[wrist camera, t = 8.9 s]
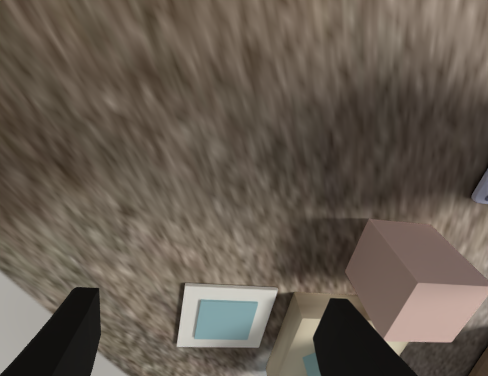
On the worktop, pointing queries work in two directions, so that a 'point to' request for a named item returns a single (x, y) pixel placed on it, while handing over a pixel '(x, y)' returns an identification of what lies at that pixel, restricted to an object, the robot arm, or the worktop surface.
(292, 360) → the birch block
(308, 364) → the teal cube
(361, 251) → the rose cube
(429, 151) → the worktop surface
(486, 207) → the worktop surface
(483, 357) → the wooden block
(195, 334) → the card
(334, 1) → the worktop surface
